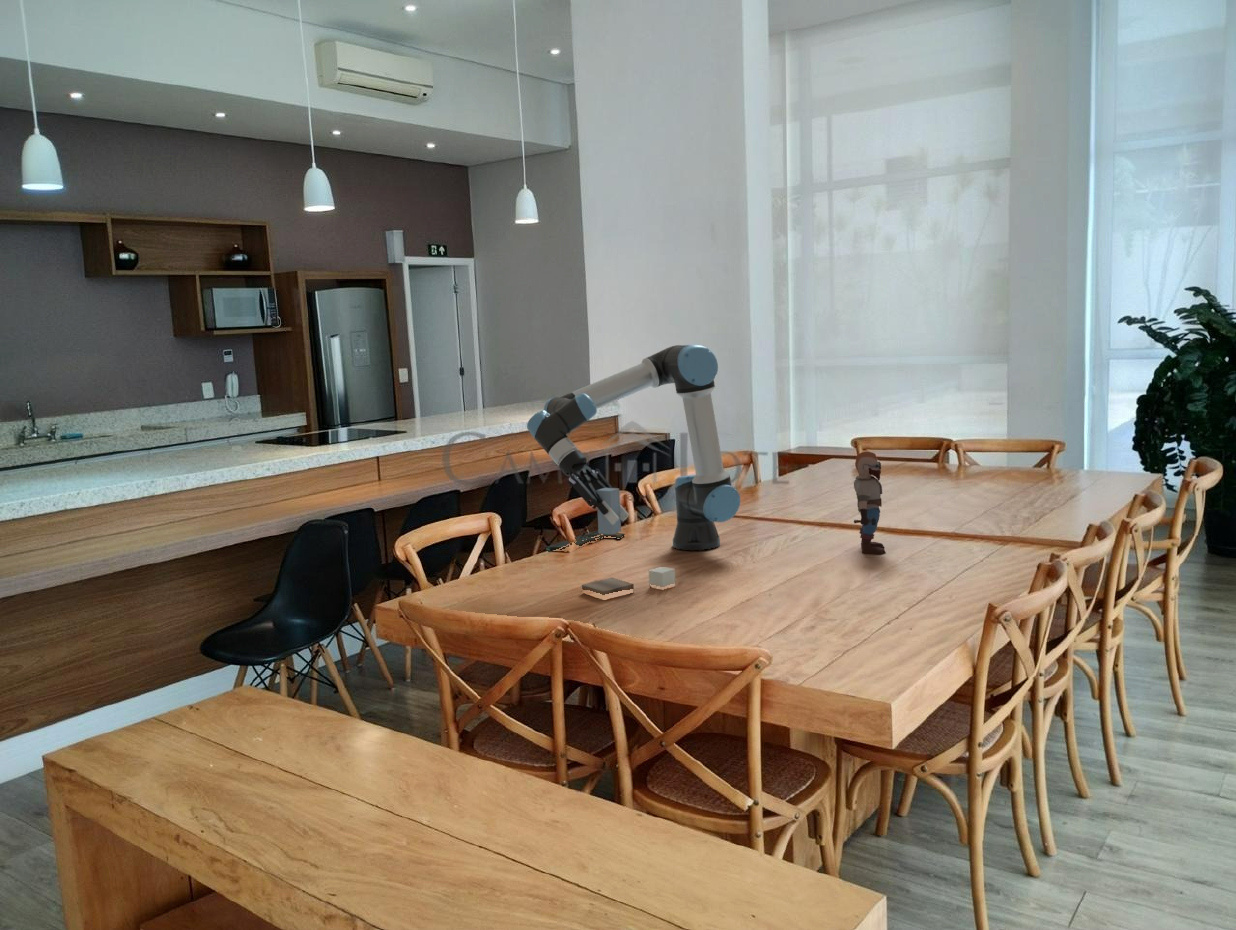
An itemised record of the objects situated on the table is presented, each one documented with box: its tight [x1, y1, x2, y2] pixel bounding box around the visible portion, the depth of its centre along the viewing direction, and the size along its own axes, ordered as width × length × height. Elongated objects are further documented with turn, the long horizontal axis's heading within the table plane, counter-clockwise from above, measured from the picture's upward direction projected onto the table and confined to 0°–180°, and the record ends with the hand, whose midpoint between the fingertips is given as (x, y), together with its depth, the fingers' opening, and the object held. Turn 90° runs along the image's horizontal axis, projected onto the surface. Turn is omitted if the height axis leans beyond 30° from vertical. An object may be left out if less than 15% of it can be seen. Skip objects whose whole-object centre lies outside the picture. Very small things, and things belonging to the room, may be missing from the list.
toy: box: [853, 451, 887, 555], centre depth 294 cm, size 22×9×30 cm, turn 168°
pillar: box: [596, 487, 622, 534], centre depth 270 cm, size 4×4×12 cm
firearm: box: [544, 529, 626, 552], centre depth 328 cm, size 28×2×15 cm
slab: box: [581, 577, 635, 595], centre depth 265 cm, size 10×10×3 cm
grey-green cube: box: [648, 566, 676, 587], centre depth 268 cm, size 5×5×5 cm
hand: (620, 519), depth 268 cm, fingers closed on pillar, 4 cm apart
